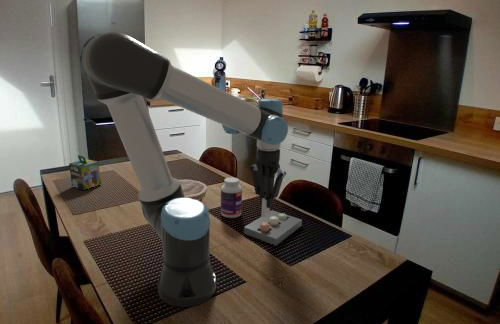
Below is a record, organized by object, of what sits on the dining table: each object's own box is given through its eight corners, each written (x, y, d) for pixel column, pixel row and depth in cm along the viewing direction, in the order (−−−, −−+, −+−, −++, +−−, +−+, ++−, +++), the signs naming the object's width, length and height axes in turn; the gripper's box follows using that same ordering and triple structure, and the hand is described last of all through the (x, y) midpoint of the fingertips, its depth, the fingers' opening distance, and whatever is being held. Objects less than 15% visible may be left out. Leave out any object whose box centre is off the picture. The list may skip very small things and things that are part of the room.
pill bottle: (238, 220, 130) (239, 184, 126) (218, 217, 132) (218, 182, 128) (243, 211, 138) (244, 177, 134) (224, 209, 139) (224, 175, 135)
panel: (275, 245, 114) (276, 239, 113) (244, 233, 121) (244, 227, 120) (301, 225, 128) (301, 219, 127) (271, 216, 135) (271, 210, 134)
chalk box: (101, 185, 160) (98, 154, 156) (83, 191, 153) (79, 159, 148) (89, 181, 165) (86, 151, 160) (71, 187, 157) (67, 155, 153)
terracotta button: (265, 234, 117) (266, 227, 116) (258, 232, 119) (258, 224, 118) (270, 231, 119) (271, 223, 118) (263, 228, 121) (263, 221, 120)
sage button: (283, 224, 126) (284, 218, 126) (276, 222, 128) (276, 215, 127) (288, 221, 129) (288, 215, 128) (280, 219, 131) (281, 212, 130)
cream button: (275, 228, 121) (275, 221, 121) (267, 225, 123) (267, 218, 122) (279, 225, 124) (280, 217, 123) (272, 222, 126) (272, 215, 125)
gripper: (292, 149, 110) (287, 217, 117) (258, 142, 117) (255, 206, 124) (280, 154, 104) (276, 225, 111) (245, 146, 111) (243, 213, 118)
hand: (265, 215), depth 117 cm, fingers closed
